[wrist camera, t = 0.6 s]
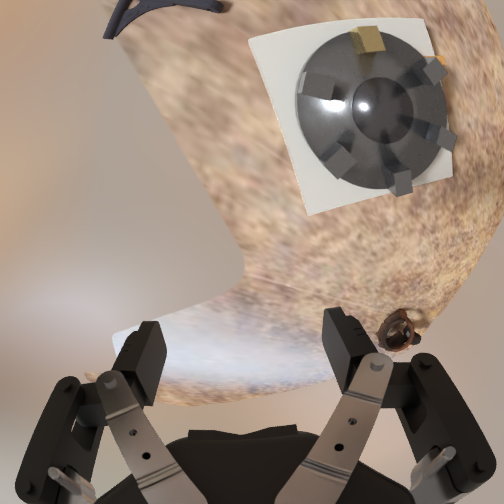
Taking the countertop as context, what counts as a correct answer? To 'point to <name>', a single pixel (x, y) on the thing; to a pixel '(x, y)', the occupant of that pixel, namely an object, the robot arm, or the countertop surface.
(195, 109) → the countertop surface
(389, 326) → the pottery mug
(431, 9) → the countertop surface
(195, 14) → the countertop surface
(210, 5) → the bracket
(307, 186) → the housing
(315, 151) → the shallow round grey dish
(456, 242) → the countertop surface
